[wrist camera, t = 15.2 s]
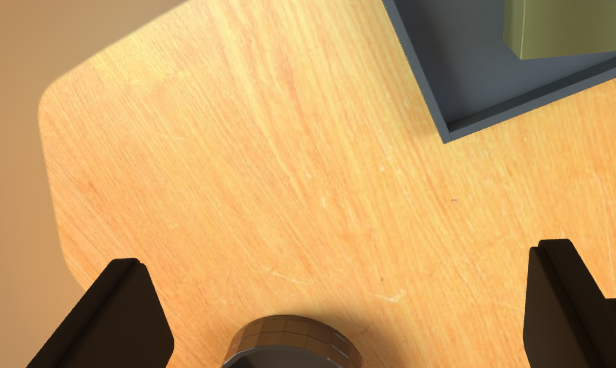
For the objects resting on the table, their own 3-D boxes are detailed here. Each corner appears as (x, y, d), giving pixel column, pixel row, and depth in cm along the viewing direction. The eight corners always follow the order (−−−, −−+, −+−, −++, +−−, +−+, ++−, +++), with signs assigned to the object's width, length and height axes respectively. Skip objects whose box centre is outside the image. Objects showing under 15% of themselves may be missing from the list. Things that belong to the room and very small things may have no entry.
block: (502, 41, 28) (520, 60, 24) (506, -42, 26) (526, -36, 22) (585, 33, 27) (617, 51, 23) (596, -54, 25) (633, -50, 21)
